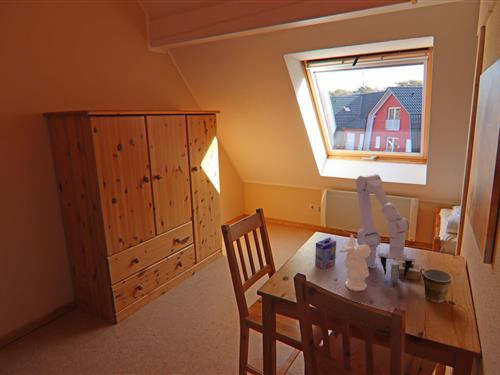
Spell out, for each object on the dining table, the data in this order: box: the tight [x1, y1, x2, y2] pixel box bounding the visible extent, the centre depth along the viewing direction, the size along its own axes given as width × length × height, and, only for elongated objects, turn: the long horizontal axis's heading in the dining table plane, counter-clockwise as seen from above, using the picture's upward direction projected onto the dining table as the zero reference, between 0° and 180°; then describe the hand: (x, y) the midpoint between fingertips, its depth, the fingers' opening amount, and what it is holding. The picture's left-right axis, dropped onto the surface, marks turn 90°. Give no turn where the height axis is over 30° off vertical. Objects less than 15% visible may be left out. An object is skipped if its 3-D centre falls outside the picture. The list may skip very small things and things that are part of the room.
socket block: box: [396, 260, 421, 281], centre depth 145 cm, size 9×9×4 cm
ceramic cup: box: [420, 268, 453, 304], centre depth 127 cm, size 13×10×10 cm
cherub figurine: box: [339, 233, 371, 292], centre depth 134 cm, size 12×12×22 cm
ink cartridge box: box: [314, 237, 337, 270], centre depth 155 cm, size 10×6×14 cm, turn 129°
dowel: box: [389, 262, 400, 284], centre depth 139 cm, size 3×3×8 cm
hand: (394, 274), depth 139 cm, fingers open, 7 cm apart
